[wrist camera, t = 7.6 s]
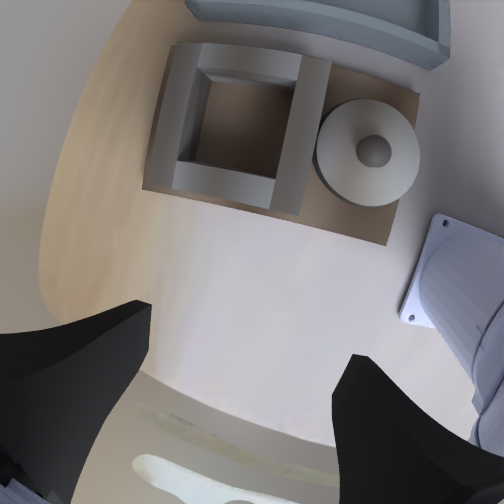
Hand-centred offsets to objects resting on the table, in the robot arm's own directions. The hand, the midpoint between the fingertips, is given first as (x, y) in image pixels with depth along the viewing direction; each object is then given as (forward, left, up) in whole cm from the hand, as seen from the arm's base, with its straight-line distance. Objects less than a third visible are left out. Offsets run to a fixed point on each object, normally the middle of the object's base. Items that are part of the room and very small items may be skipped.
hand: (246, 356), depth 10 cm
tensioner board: (+1, -8, -10) cm, 13 cm away
